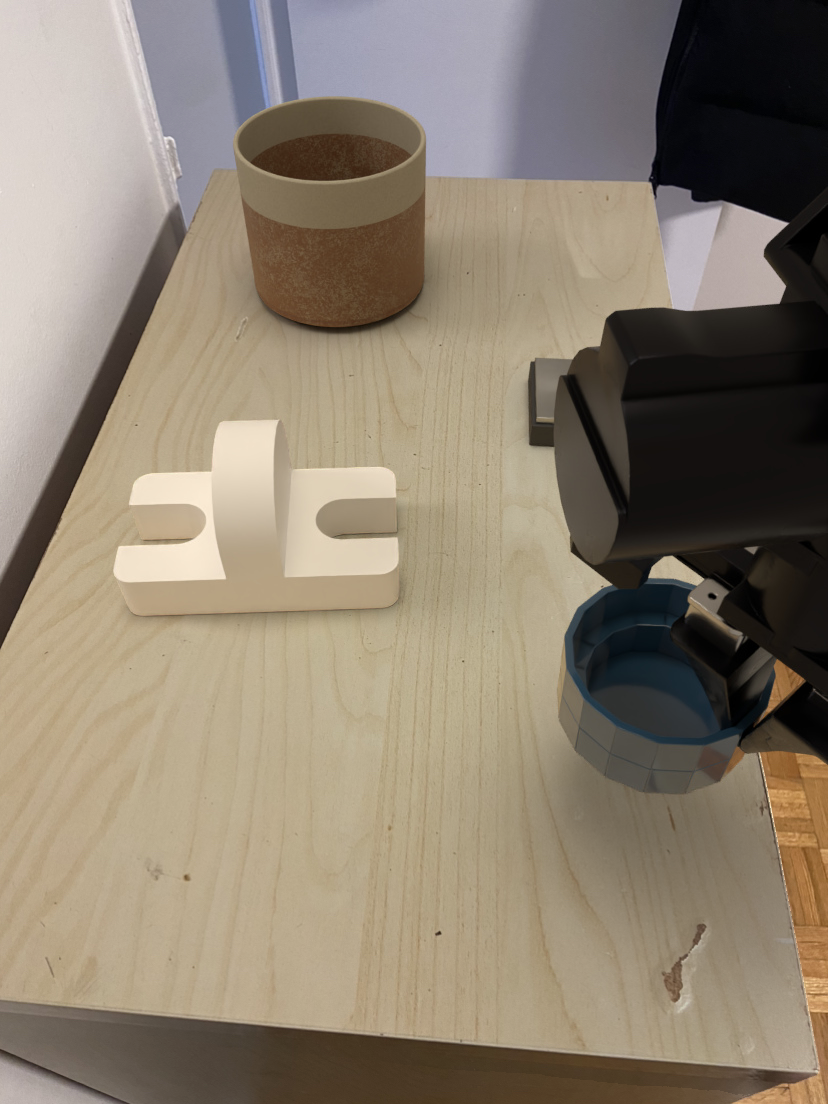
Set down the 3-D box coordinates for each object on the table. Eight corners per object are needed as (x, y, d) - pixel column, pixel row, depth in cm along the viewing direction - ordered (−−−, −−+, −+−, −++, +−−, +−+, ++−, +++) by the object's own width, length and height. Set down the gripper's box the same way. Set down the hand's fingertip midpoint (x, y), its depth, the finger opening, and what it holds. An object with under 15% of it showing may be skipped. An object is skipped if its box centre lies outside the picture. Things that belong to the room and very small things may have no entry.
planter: (433, 328, 75) (436, 177, 65) (254, 339, 74) (228, 187, 64) (415, 235, 85) (415, 91, 75) (257, 243, 84) (235, 99, 74)
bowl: (785, 763, 40) (818, 706, 36) (609, 825, 38) (624, 773, 34) (684, 618, 46) (703, 557, 42) (527, 667, 44) (533, 607, 40)
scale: (624, 384, 70) (630, 359, 68) (632, 450, 65) (639, 425, 63) (527, 380, 71) (531, 354, 69) (529, 445, 66) (532, 420, 64)
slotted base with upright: (399, 607, 56) (397, 494, 47) (124, 616, 55) (73, 503, 47) (395, 501, 62) (393, 384, 53) (148, 508, 61) (106, 392, 53)
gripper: (1339, 539, 24) (1033, 775, 36) (780, 269, 33) (683, 529, 45) (1199, 775, 20) (901, 957, 32) (593, 387, 29) (540, 642, 41)
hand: (740, 737), depth 37 cm, fingers closed on bowl
